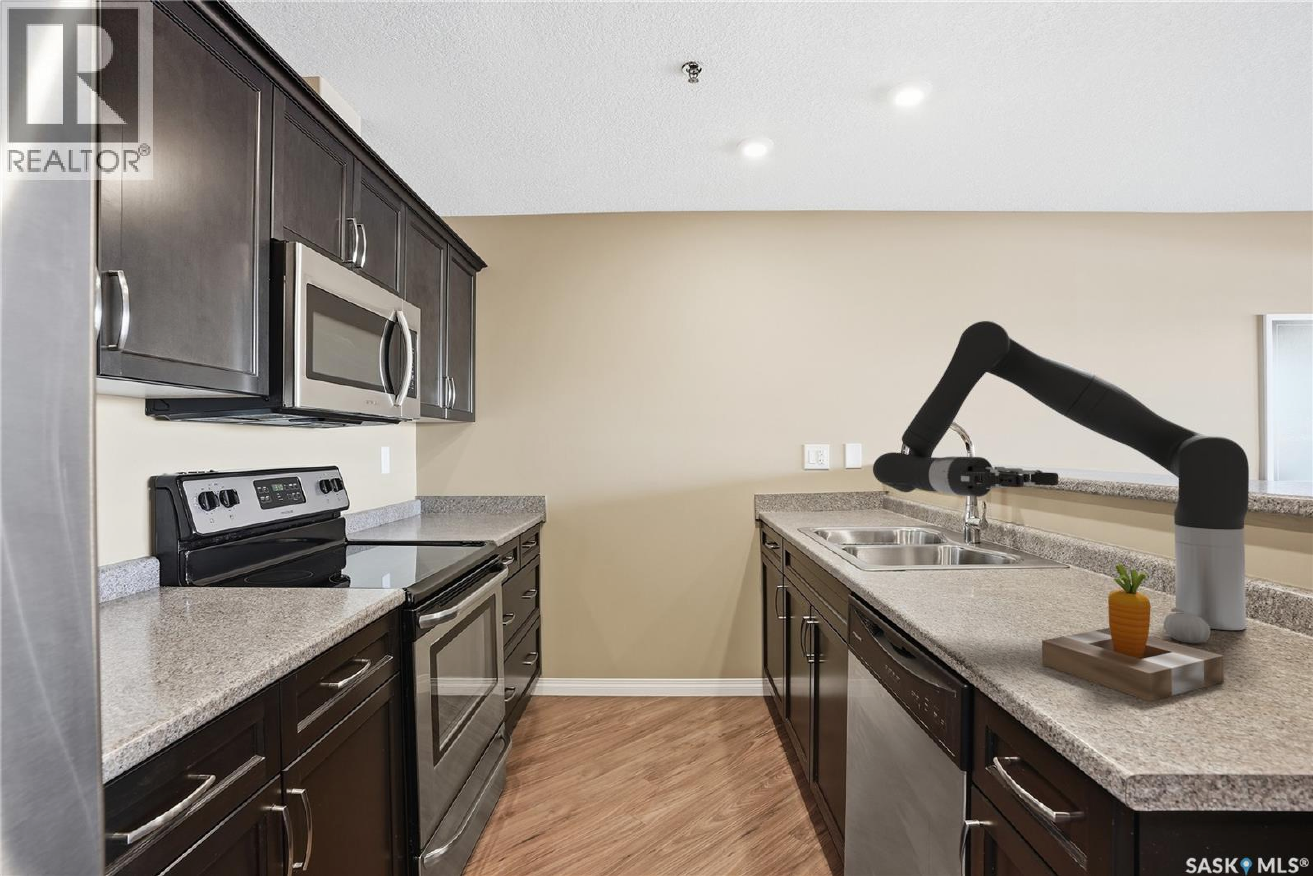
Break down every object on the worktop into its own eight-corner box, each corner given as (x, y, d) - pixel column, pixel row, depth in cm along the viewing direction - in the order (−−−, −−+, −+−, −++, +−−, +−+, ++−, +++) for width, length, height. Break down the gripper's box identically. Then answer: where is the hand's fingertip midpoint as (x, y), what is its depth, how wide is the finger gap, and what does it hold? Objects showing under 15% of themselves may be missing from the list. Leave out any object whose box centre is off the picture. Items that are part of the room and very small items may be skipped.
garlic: (1155, 639, 101) (1155, 607, 101) (1171, 634, 104) (1170, 603, 104) (1201, 649, 96) (1201, 616, 96) (1216, 644, 98) (1216, 611, 98)
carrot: (1158, 681, 83) (1160, 571, 83) (1117, 678, 84) (1118, 569, 84) (1137, 667, 88) (1139, 563, 88) (1098, 664, 89) (1100, 561, 89)
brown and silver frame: (1113, 649, 96) (1112, 627, 96) (1223, 681, 83) (1223, 655, 83) (1042, 664, 90) (1042, 640, 90) (1150, 701, 77) (1149, 673, 77)
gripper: (932, 457, 117) (1010, 458, 102) (986, 455, 122) (1067, 457, 107) (933, 496, 117) (1010, 504, 102) (987, 493, 122) (1068, 500, 107)
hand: (1040, 480), depth 105 cm, fingers open, 8 cm apart
